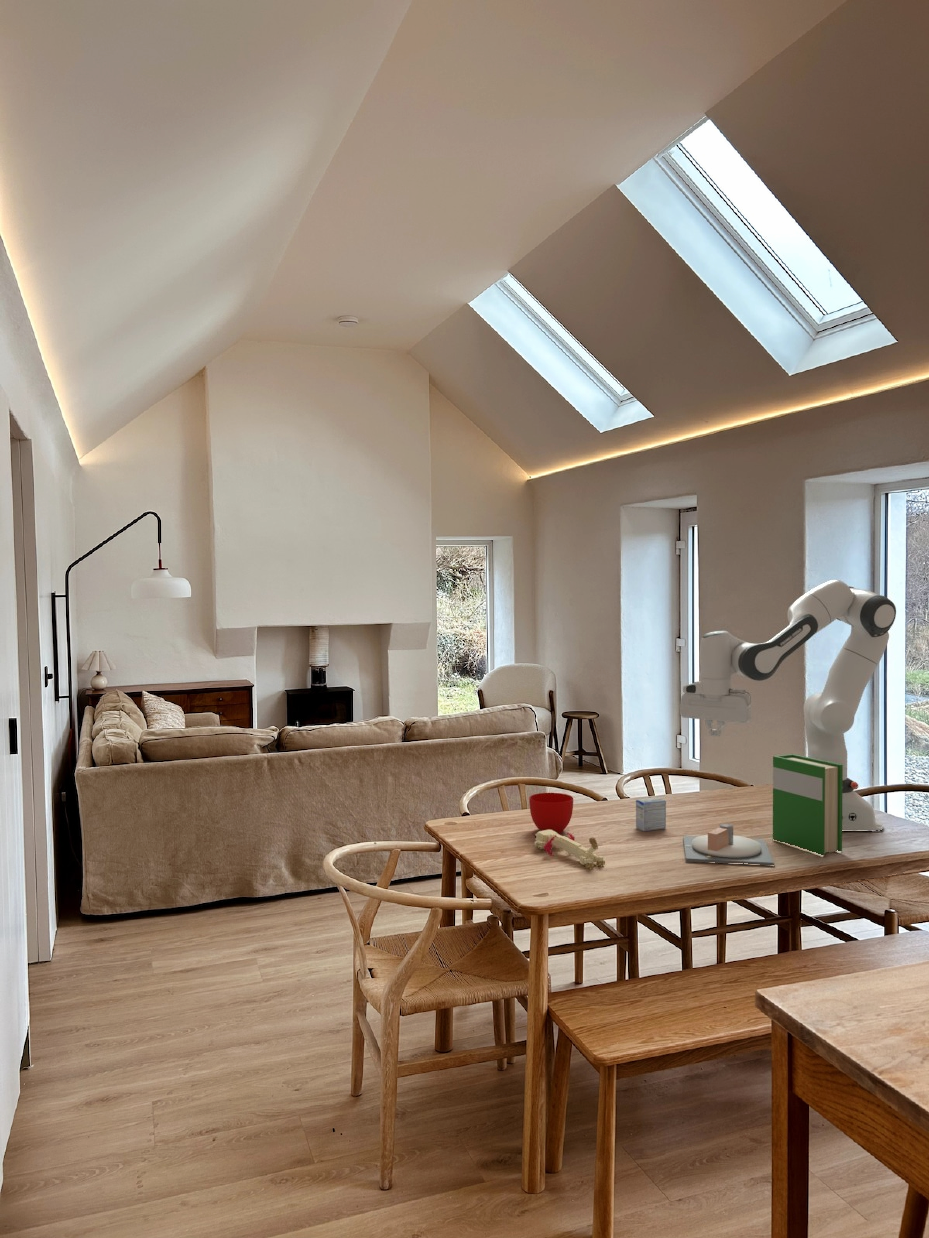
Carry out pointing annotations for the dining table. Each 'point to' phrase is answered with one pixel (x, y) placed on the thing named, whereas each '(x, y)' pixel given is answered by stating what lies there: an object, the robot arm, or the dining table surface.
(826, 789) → the hardback book
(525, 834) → the dining table surface
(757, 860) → the dial base plate
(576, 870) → the dining table surface
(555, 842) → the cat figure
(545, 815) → the ceramic cup
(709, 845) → the dial
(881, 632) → the robot arm
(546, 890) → the dining table surface
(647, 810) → the medicine box
